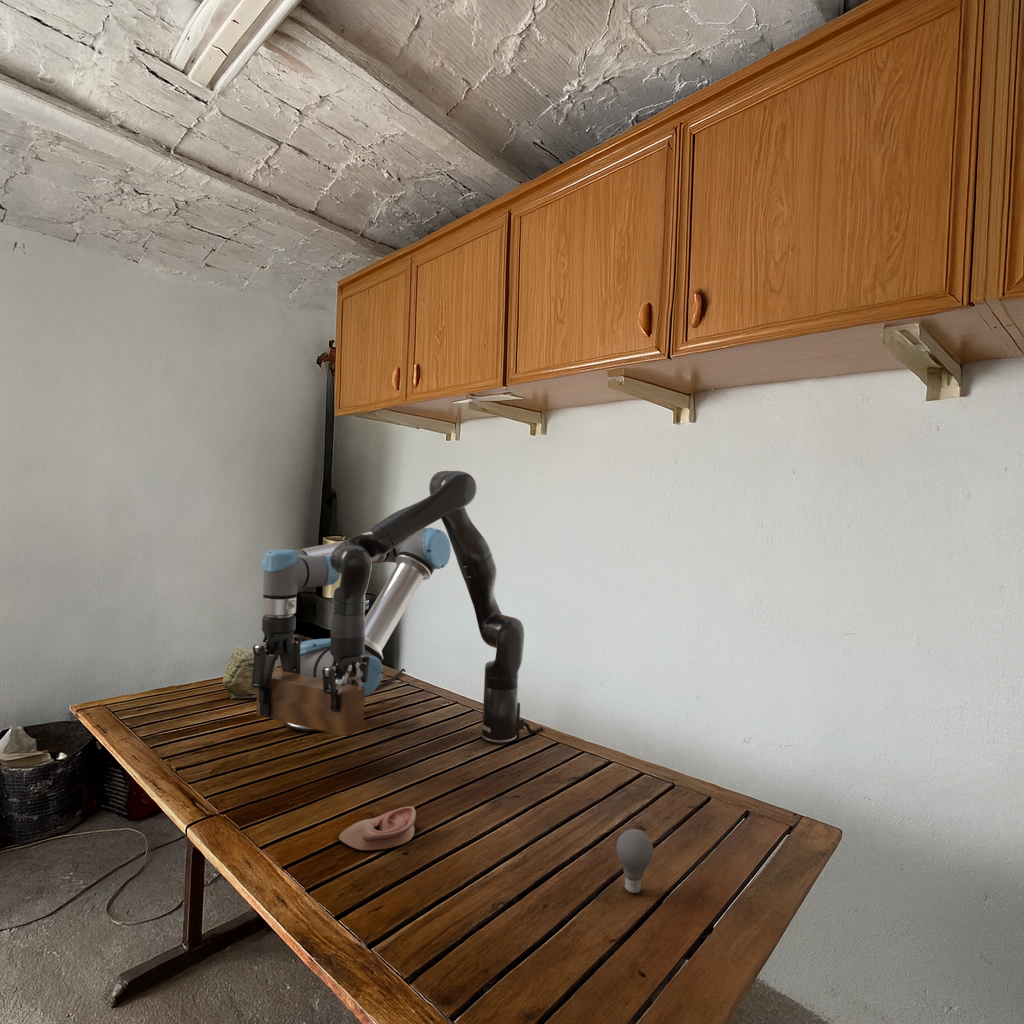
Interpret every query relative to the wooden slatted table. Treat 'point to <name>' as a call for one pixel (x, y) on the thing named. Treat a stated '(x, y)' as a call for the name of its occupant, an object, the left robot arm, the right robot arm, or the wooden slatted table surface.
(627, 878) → the light bulb
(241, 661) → the fossil
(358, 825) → the anatomical model
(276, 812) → the wooden slatted table surface
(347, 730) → the bar
